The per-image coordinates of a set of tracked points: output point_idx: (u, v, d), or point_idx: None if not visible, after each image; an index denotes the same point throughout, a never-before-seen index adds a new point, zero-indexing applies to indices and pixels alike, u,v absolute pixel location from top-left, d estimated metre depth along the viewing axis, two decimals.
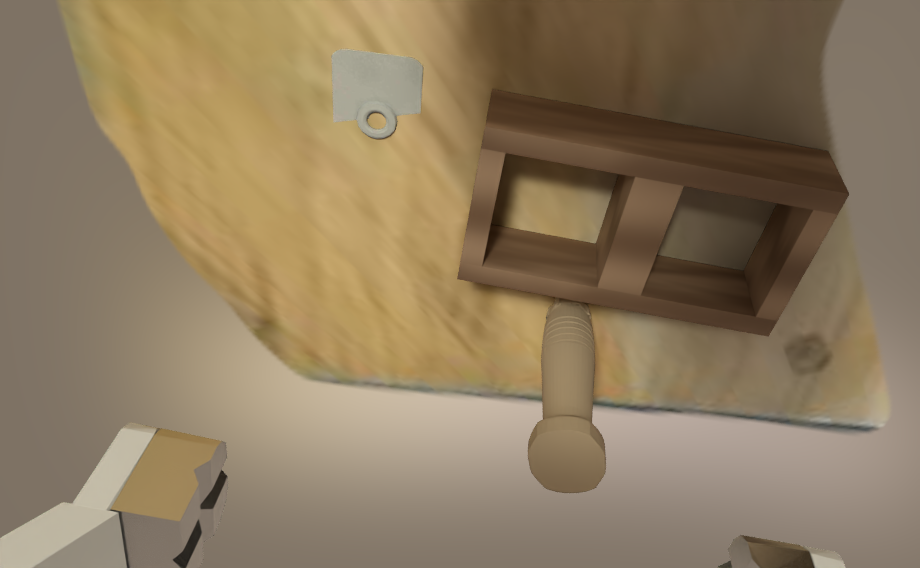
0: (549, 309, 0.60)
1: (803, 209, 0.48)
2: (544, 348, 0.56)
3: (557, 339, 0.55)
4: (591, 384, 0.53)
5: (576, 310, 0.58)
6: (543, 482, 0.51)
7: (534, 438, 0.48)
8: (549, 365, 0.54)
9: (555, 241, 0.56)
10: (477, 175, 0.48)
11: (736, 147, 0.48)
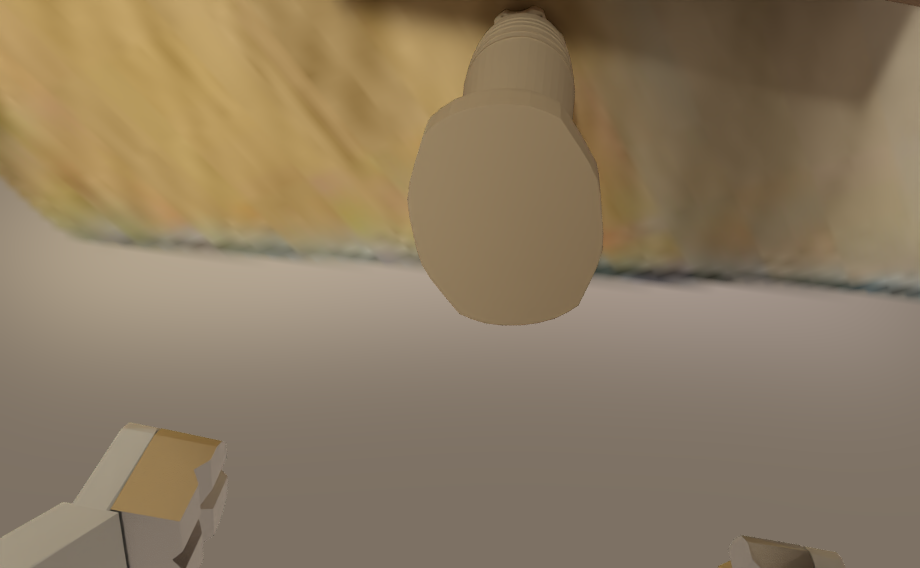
0: None
1: None
2: (469, 67, 0.27)
3: (494, 41, 0.26)
4: (566, 105, 0.24)
5: (537, 16, 0.29)
6: (453, 295, 0.21)
7: (419, 147, 0.19)
8: (475, 76, 0.25)
9: None
10: None
11: None
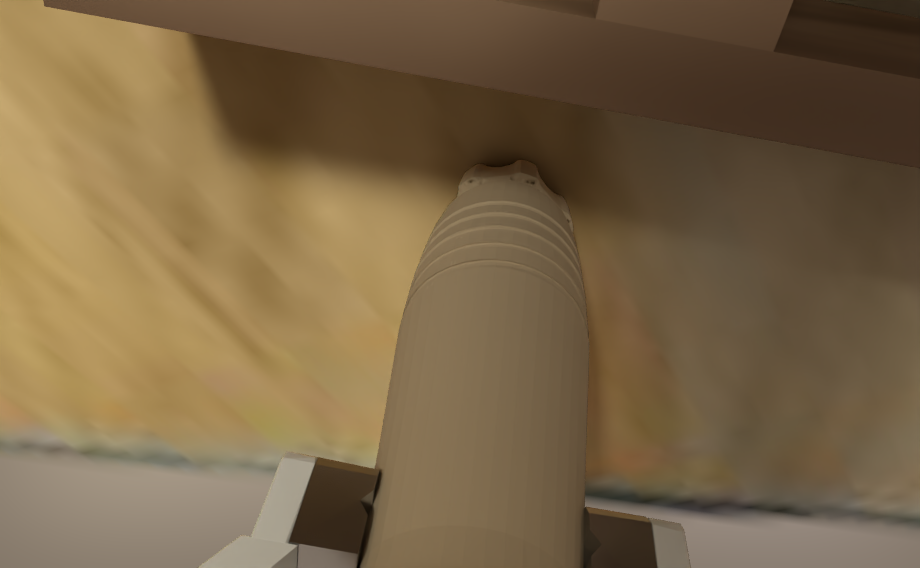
0: None
1: None
2: (408, 301, 0.16)
3: (449, 263, 0.15)
4: (577, 424, 0.13)
5: (526, 191, 0.18)
6: None
7: None
8: (410, 351, 0.14)
9: None
10: None
11: None
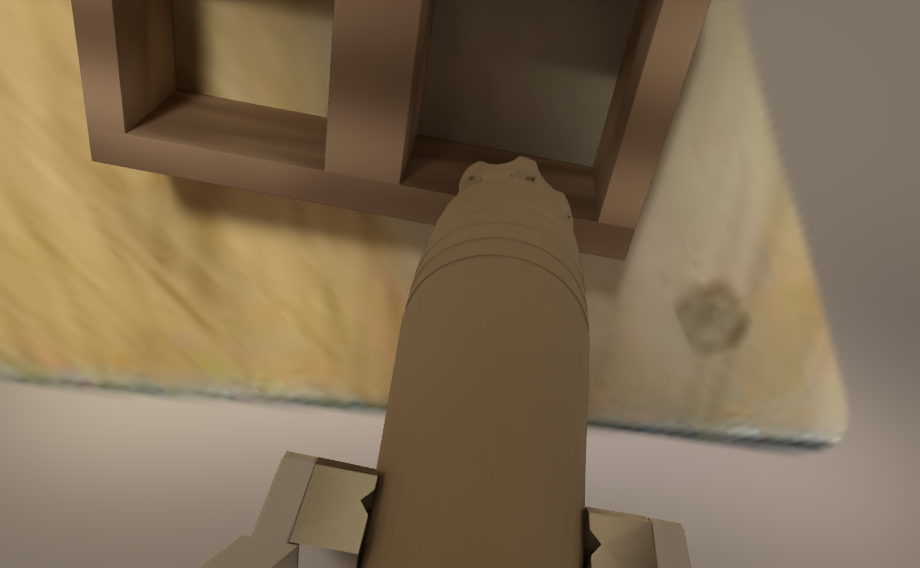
0: None
1: (656, 3, 0.27)
2: (410, 297, 0.16)
3: (449, 259, 0.15)
4: (577, 416, 0.13)
5: (526, 187, 0.18)
6: None
7: None
8: (412, 345, 0.14)
9: (282, 115, 0.34)
10: None
11: None
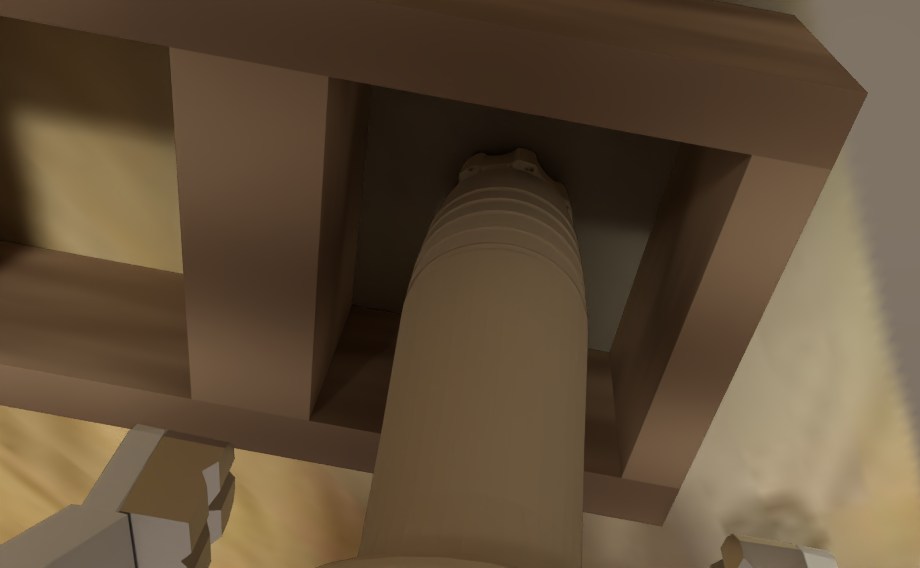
0: None
1: (725, 165, 0.16)
2: (410, 285, 0.16)
3: (449, 247, 0.15)
4: (576, 399, 0.13)
5: (525, 177, 0.18)
6: None
7: None
8: (412, 331, 0.14)
9: (150, 280, 0.23)
10: None
11: None
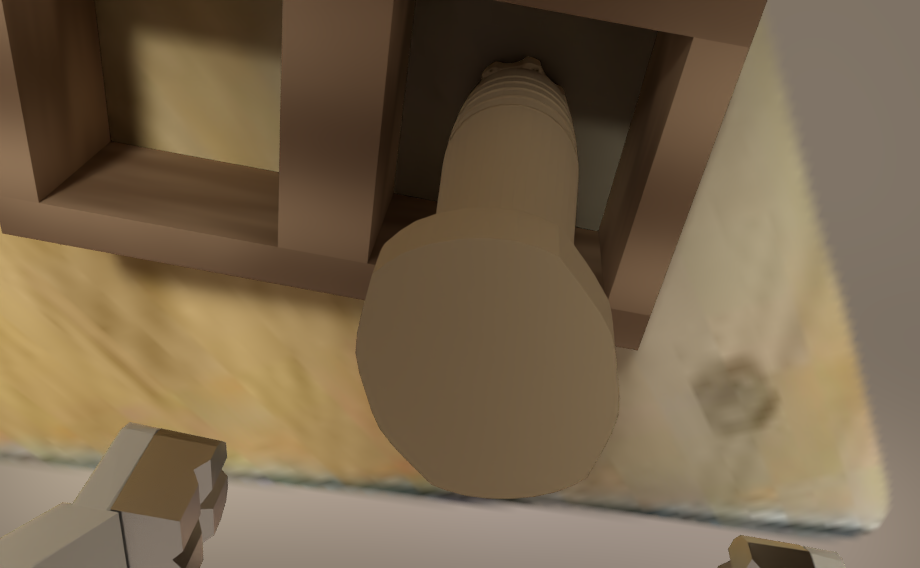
0: None
1: (678, 52, 0.22)
2: (449, 140, 0.22)
3: (479, 109, 0.21)
4: (568, 196, 0.19)
5: (532, 72, 0.24)
6: (422, 463, 0.16)
7: (368, 289, 0.14)
8: (454, 157, 0.20)
9: (234, 171, 0.29)
10: None
11: None
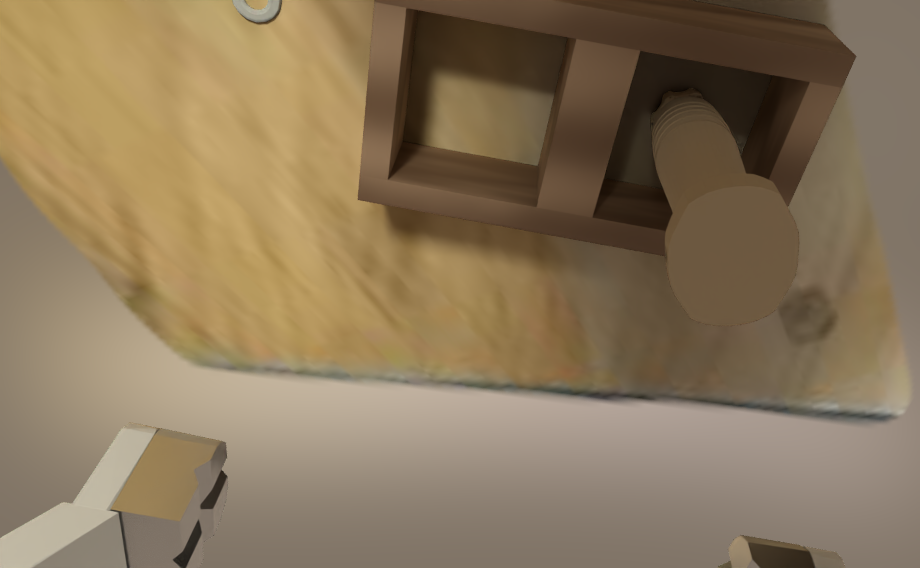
0: (654, 114, 0.42)
1: (796, 89, 0.37)
2: (661, 141, 0.37)
3: (681, 122, 0.37)
4: (745, 172, 0.34)
5: (700, 99, 0.39)
6: (688, 306, 0.31)
7: (682, 212, 0.29)
8: (676, 151, 0.35)
9: (486, 161, 0.44)
10: (372, 43, 0.37)
11: (707, 11, 0.38)
